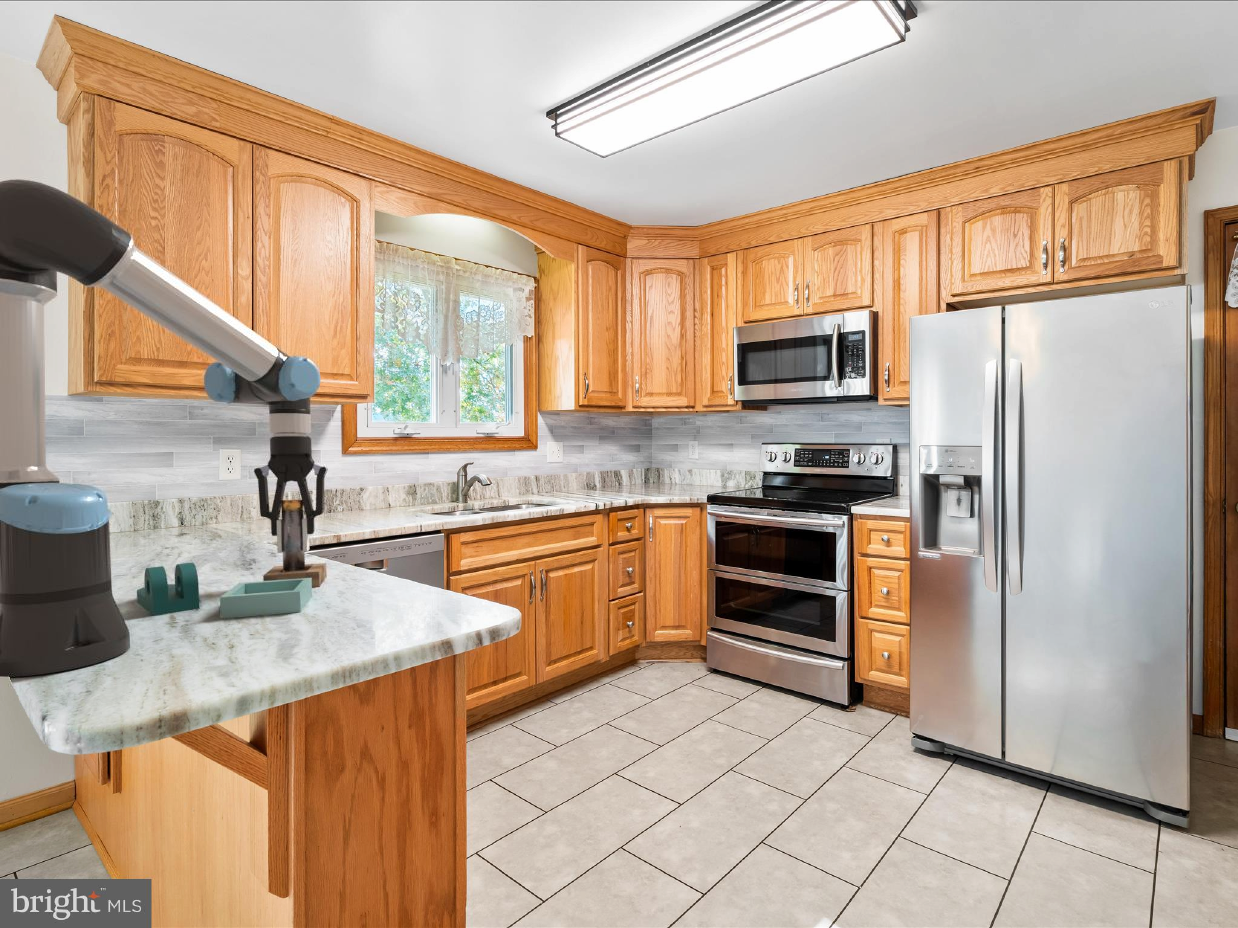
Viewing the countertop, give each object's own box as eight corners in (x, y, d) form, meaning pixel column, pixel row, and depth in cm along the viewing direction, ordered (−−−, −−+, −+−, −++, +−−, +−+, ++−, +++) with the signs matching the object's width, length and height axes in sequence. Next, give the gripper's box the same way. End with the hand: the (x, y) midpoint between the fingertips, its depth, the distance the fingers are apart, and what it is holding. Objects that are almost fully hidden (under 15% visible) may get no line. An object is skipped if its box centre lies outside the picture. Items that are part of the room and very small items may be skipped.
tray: (300, 611, 114) (299, 591, 114) (220, 618, 111) (219, 597, 110) (312, 596, 125) (311, 577, 125) (240, 602, 122) (239, 582, 122)
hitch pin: (303, 570, 136) (301, 500, 135) (281, 571, 135) (279, 501, 134) (306, 566, 139) (304, 499, 139) (285, 567, 138) (283, 499, 138)
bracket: (199, 609, 118) (197, 564, 118) (153, 617, 113) (151, 570, 113) (176, 594, 131) (174, 553, 131) (134, 600, 126) (132, 558, 126)
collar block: (319, 586, 134) (319, 571, 134) (263, 590, 131) (263, 575, 131) (326, 577, 144) (326, 562, 144) (274, 580, 141) (274, 566, 141)
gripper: (338, 435, 142) (341, 546, 143) (248, 436, 138) (251, 550, 138) (333, 434, 135) (336, 551, 136) (238, 435, 130) (241, 556, 131)
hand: (293, 550), depth 137 cm, fingers closed on hitch pin, 4 cm apart
